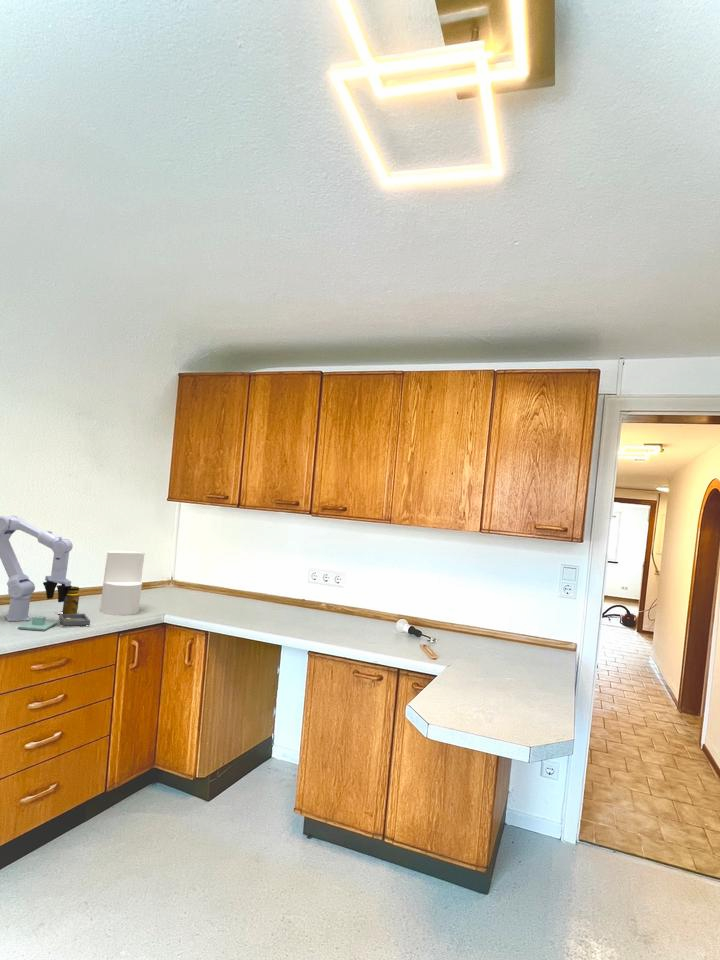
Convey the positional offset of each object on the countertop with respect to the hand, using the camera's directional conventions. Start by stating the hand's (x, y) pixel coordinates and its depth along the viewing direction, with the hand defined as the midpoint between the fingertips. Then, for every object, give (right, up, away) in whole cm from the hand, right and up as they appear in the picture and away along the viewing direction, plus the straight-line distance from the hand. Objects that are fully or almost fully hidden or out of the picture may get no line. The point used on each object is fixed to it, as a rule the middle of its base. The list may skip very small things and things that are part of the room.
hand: (55, 600), depth 236 cm
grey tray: (+7, -10, +3) cm, 12 cm away
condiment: (-4, -10, +17) cm, 20 cm away
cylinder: (+13, -12, +33) cm, 38 cm away
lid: (-2, -9, -9) cm, 13 cm away
